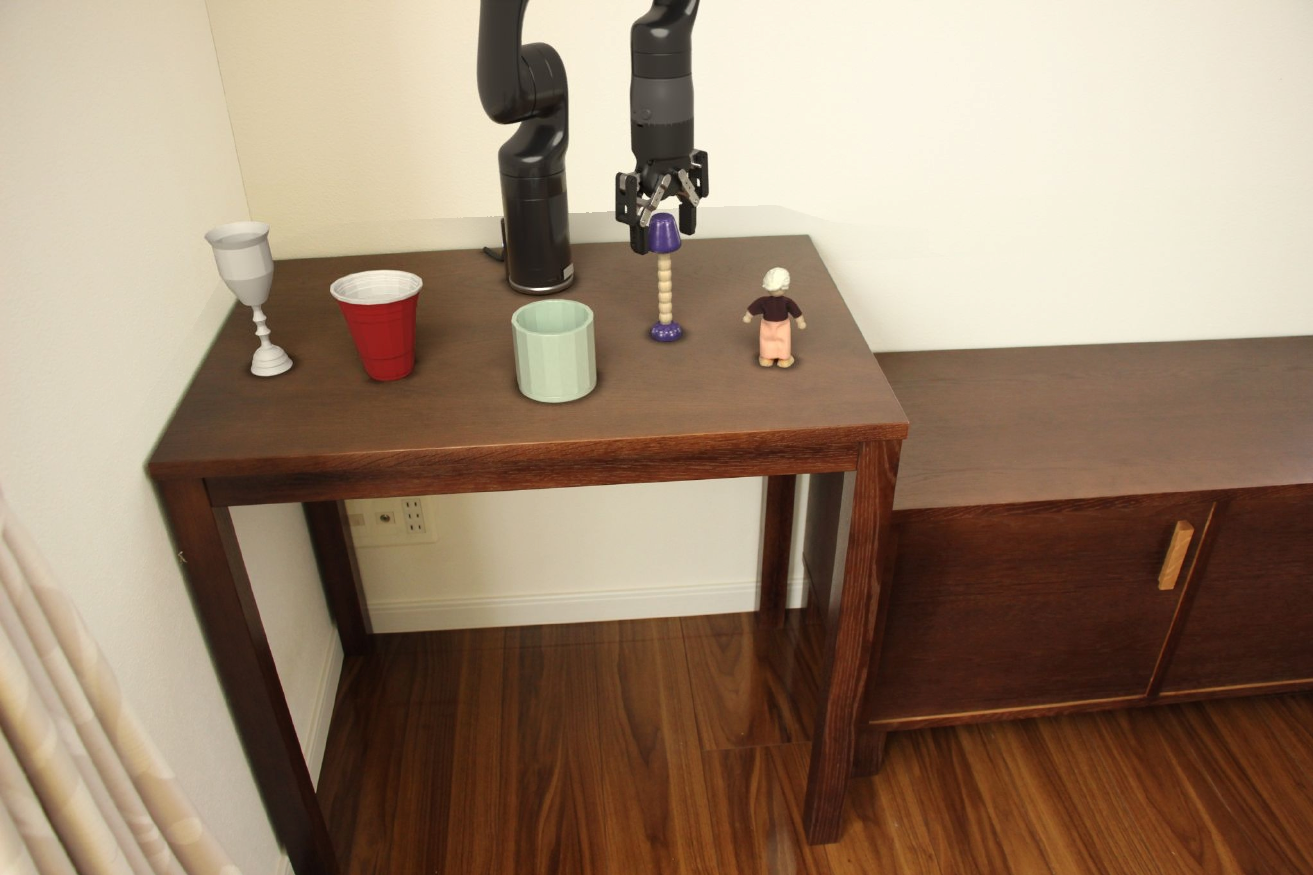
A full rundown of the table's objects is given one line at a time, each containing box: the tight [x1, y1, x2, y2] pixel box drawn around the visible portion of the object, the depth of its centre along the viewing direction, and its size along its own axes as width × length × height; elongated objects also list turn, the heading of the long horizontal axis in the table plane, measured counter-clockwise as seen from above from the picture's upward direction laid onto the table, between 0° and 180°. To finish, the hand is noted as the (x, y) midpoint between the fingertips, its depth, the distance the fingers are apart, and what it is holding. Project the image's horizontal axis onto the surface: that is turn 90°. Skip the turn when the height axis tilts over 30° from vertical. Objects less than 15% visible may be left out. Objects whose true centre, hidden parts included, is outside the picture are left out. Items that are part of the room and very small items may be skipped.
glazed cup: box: [510, 298, 598, 404], centre depth 119 cm, size 10×10×9 cm
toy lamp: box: [647, 212, 683, 343], centre depth 127 cm, size 5×5×17 cm
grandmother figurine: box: [742, 266, 807, 368], centre depth 122 cm, size 8×4×13 cm, turn 89°
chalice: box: [203, 220, 294, 377], centre depth 121 cm, size 7×7×18 cm
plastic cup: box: [329, 269, 423, 382], centre depth 121 cm, size 11×11×12 cm
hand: (664, 243), depth 124 cm, fingers open, 8 cm apart
